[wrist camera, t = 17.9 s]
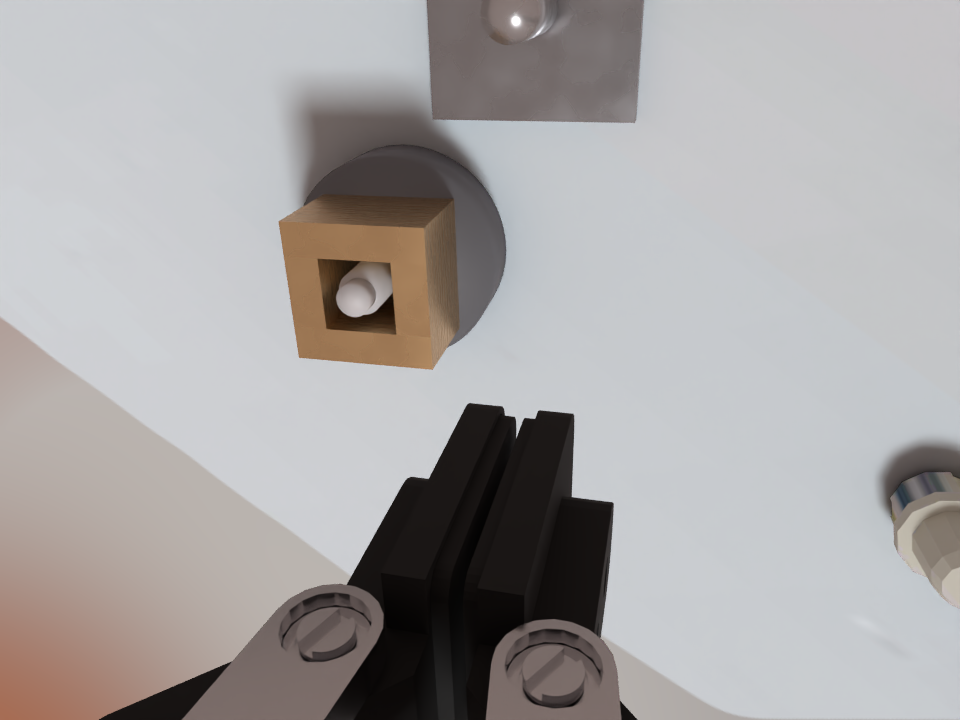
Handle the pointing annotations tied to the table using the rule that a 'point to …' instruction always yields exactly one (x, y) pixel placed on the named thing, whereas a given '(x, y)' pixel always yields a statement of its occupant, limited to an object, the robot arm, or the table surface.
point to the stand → (535, 59)
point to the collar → (374, 238)
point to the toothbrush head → (930, 529)
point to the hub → (423, 178)
